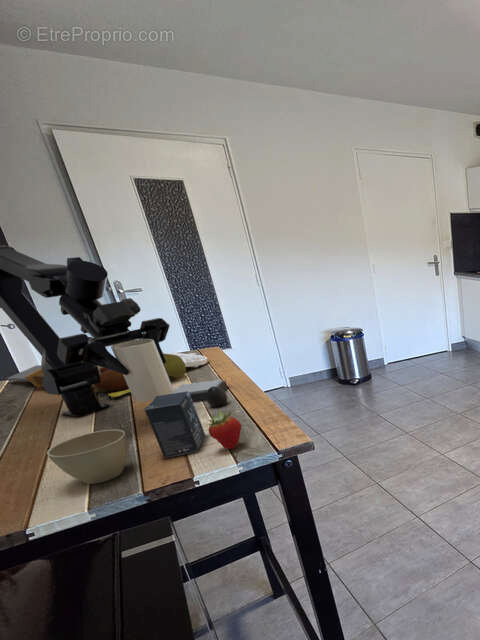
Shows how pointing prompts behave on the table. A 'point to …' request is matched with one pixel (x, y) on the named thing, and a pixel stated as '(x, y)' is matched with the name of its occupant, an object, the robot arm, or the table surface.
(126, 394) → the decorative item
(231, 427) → the fruit
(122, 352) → the tumbler
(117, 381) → the potato
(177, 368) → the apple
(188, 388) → the scale
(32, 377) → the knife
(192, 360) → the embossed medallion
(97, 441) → the bowl
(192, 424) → the box
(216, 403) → the egg
